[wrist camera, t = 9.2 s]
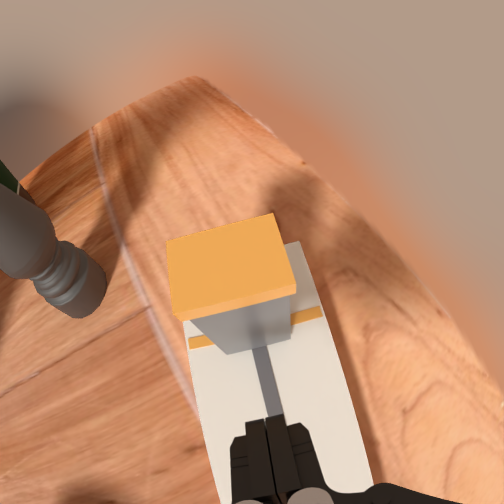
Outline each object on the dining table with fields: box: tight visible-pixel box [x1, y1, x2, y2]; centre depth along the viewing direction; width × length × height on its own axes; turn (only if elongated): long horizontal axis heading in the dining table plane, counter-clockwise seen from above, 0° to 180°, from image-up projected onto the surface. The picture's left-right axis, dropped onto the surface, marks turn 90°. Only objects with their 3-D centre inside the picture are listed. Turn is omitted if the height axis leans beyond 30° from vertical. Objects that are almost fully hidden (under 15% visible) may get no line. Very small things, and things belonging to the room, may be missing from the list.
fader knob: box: [166, 213, 296, 355], centre depth 16 cm, size 3×5×10 cm
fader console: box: [183, 241, 374, 504], centre depth 18 cm, size 28×10×3 cm, turn 13°
